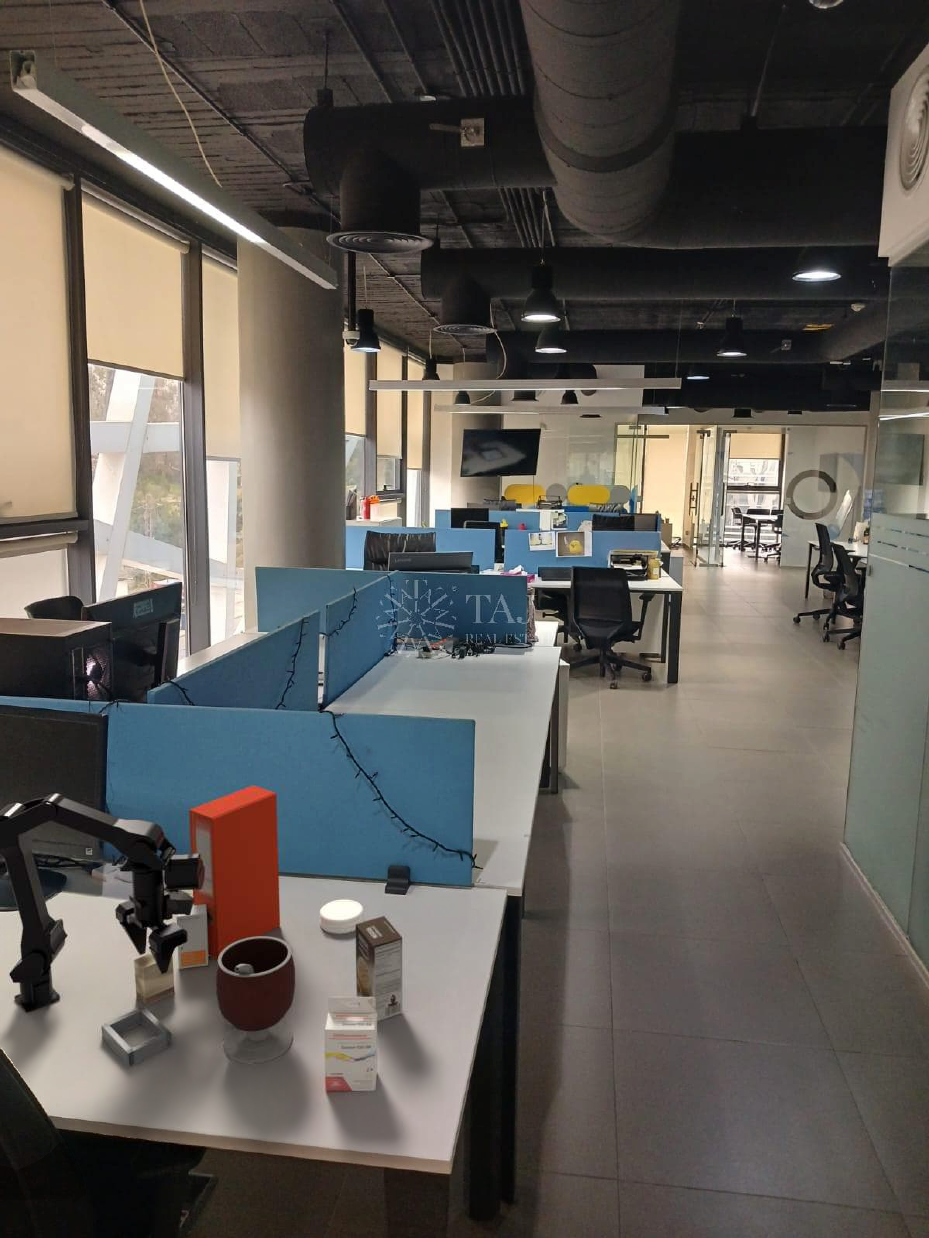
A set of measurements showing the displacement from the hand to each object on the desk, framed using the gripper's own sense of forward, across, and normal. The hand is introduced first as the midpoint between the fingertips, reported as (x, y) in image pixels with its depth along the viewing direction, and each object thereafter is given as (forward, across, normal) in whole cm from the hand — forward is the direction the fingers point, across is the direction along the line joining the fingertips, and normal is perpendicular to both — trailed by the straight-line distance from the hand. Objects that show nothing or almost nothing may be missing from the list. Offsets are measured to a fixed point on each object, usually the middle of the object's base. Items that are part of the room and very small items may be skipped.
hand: (153, 963), depth 172 cm
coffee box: (+7, -34, -29) cm, 45 cm away
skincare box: (+7, +5, -11) cm, 14 cm away
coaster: (+7, -4, -43) cm, 44 cm away
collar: (+7, -11, +9) cm, 16 cm away
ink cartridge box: (+7, -47, -12) cm, 49 cm away
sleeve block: (+7, 0, 0) cm, 7 cm away
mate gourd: (+7, -27, -6) cm, 29 cm away
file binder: (+7, +7, -23) cm, 25 cm away
